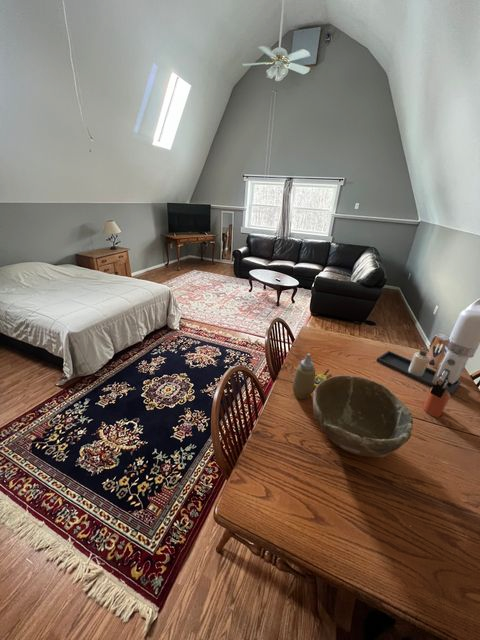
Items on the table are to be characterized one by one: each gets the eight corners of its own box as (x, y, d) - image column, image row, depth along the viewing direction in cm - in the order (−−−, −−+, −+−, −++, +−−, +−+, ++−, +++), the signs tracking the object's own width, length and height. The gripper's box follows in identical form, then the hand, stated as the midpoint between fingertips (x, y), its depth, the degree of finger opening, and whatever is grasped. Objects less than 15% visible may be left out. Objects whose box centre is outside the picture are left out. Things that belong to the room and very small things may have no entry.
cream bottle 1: (425, 373, 117) (434, 351, 113) (420, 378, 114) (429, 356, 109) (411, 366, 121) (419, 346, 117) (405, 371, 118) (413, 350, 113)
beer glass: (422, 365, 124) (434, 337, 117) (423, 359, 129) (434, 331, 123) (440, 371, 120) (453, 342, 114) (440, 364, 125) (453, 336, 119)
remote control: (309, 382, 106) (323, 365, 117) (308, 385, 107) (323, 368, 118) (320, 387, 104) (334, 369, 114) (319, 391, 104) (333, 373, 115)
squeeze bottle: (305, 404, 97) (313, 363, 89) (286, 394, 102) (292, 354, 94) (316, 394, 103) (324, 354, 95) (298, 384, 107) (304, 345, 100)
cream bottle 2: (450, 384, 111) (461, 362, 106) (446, 390, 107) (456, 367, 103) (434, 377, 115) (444, 355, 110) (429, 382, 111) (439, 360, 107)
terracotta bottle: (443, 411, 97) (455, 387, 92) (438, 419, 94) (449, 394, 89) (425, 402, 101) (436, 379, 96) (420, 409, 98) (430, 385, 93)
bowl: (360, 501, 67) (376, 460, 61) (289, 427, 87) (295, 391, 81) (417, 452, 81) (435, 415, 74) (344, 398, 101) (353, 365, 95)
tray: (459, 386, 111) (461, 382, 110) (450, 397, 104) (452, 393, 103) (387, 354, 131) (388, 350, 131) (375, 362, 125) (377, 358, 124)
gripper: (467, 361, 78) (444, 406, 85) (481, 345, 88) (460, 386, 96) (438, 350, 83) (419, 393, 91) (455, 335, 93) (436, 375, 101)
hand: (440, 389), depth 93 cm, fingers open, 9 cm apart
